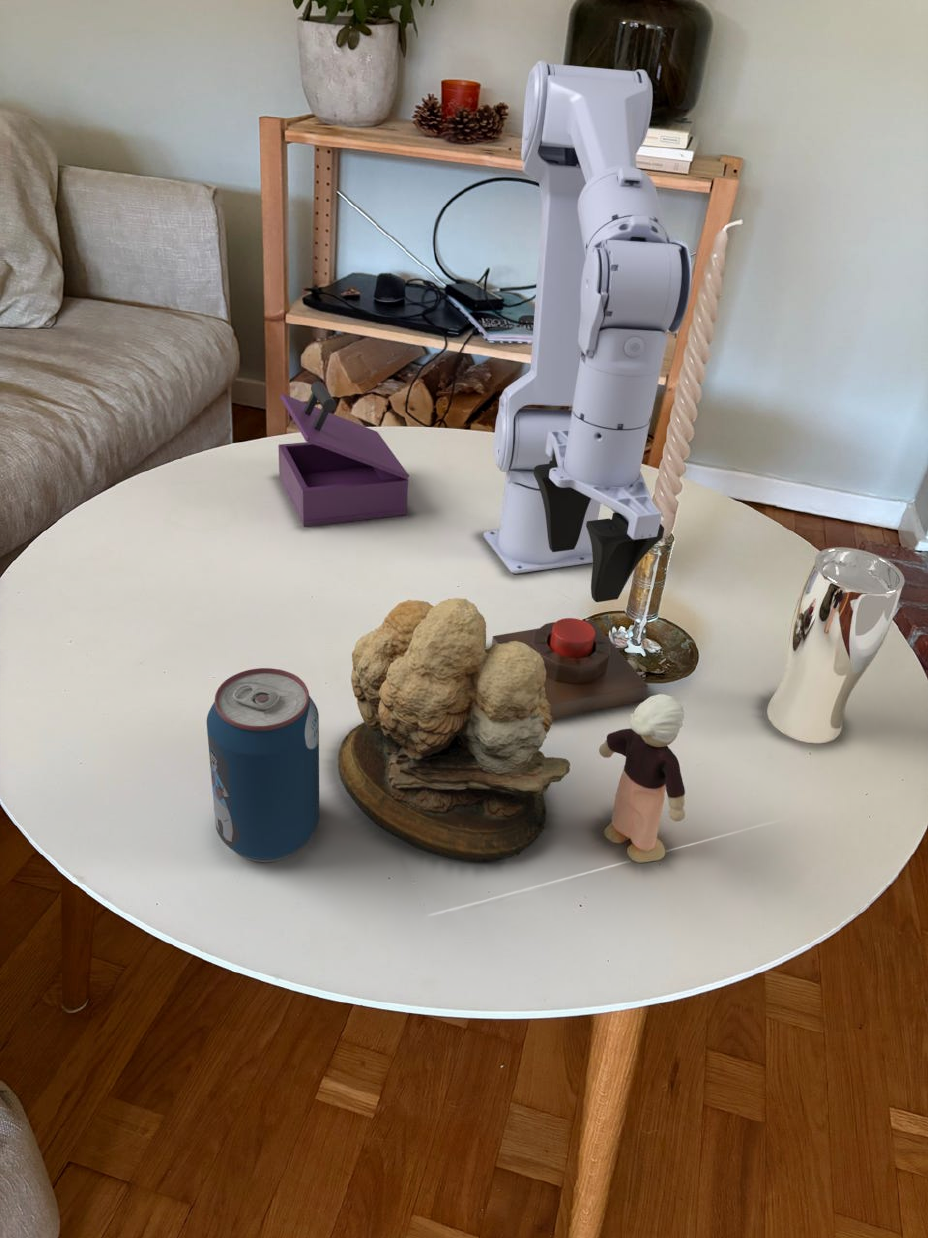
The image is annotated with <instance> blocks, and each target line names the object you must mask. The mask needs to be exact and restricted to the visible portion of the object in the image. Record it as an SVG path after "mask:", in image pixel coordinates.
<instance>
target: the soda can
mask: <svg viewBox="0 0 928 1238" xmlns="http://www.w3.org/2000/svg"><path fill="white" fill-rule="evenodd" d="M206 731H207V732H206V734H207V744H208V745H207V746H208V754H209V755H208V757H209V765H210V766H209V767H210V777H211V787H212V798H213V812H214V813H213V814H214V823H215V829H216V832H217V834H218V836H219V838H220V839H221V841H222V842H223V843H224V844H225V845H226V846H227V847H228V848H229V849H231V851H233V852H235V854H238V855H239V856H240V857H242V858H243V859H247V860H249V861H254V862H260V863H269V862H270V863H271V862H276V861H280V860H283V859H286V858H289V857H291V856H292V855H295V853H297V852H298V851H299V850H300V849H302V847H303V846H304V845H305V844H307V843H308V841H309V840H310V839H311V837H313V835H314V833H315V831H316V830H317V828H318V825H319V823H320V714H319V709H318V707H317V705H316V703H315V702H314V700H313V699H312V697H311V696H310V693H309V689H308V686H307V685H306V683H305V682H304V681H303V680H302V679H301V678H300V677H299V676H298V675H296V674H295V673H292V672H290V671H286V670H284V669H278V668H270V667H258V668H252V669H251V668H250V669H247V670H244V671H240V672H237V673H235V674H234V675H231V676H230V677H229V678H227V679H225V680H224V681H223V682H222V683H221V684H220V686H219V687H218V689H217V690H216V692H215V694H214V702H213V703H212V705H211V707H210V709H209V710H208V712H207V717H206Z"/></svg>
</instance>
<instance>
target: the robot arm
mask: <svg viewBox="0 0 928 1238" xmlns="http://www.w3.org/2000/svg"><path fill="white" fill-rule="evenodd" d="M653 94H654V93H653V84H652V81H651V78H650V77H649V75H648V73H647V71H646V70H645V69H636V70H623V69H612V68H603V67H589V66H579V65H578V66H577V65H568V64H567V65H566V64H557V63H556V64H555V63H547V61H546V60H538V61H537V62H536V64H534V66H533V67H532V68H531V69H530V71H529V73H528V78H527V83H526V87H525V95H524V105H523V106H524V107H523V119H522V120H523V123H522V135H521V151H520V152H521V153H520V157H521V158H520V159H521V160H522V172H523V173H524V174H525V175H527V176H528V177H530V178H531V179H533V180H535V181H536V182H537V183H538V184H539V185H538V186H539V193H540V194H539V195H540V203H541V221H540V231H539V232H540V233H539V248H538V258H537V259H538V260H537V272H536V273H537V275H536V287H535V302H534V303H535V304H534V315H533V329H532V342H531V354H530V355H531V356H530V369H529V371H528V372H527V373H525V374H524V375H522V376H521V377H520V378H517V380H515V381H513V382H512V383H510V384H509V385H508V386H507V387H505V388H504V390H503V391H502V393H501V395H500V396H499V399H498V400H499V402H498V412H497V415H496V419H495V425H494V426H495V427H494V436H493V437H494V439H493V450H494V451H493V452H494V453H493V454H494V456H493V457H494V462H495V465H496V467H497V469H499V471H500V472H503V473H505V480H504V491H503V498H502V506H501V514H500V523H499V529H498V530H497V529H495V530H487V531H485V532H483V538H484V539H485V540H486V542H487V544H488V545H489V546H490V547H491V549H492V550H493V551H494V552H495V554H496V555H497V556H498V558H499V559H500V560H501V561H502V563H503V564H504V566H505V567H506V568H507V569H508V570H509V572H510V573H512V574H516V575H517V574H524V573H530V572H537V571H543V570H551V569H558V568H566V567H570V566H571V567H572V566H573V567H574V566H579V565H586V564H592V569H591V579H590V594H591V595H590V596H591V599H592V600H593V601H594V603H602V602H609V601H615V600H618V599H619V597H621V594H622V592H623V590H624V588H625V586H626V584H627V583H628V581H629V579H630V577H631V575H632V574H633V572H634V571H635V568H636V567H638V564H639V563H640V562H641V560H642V559H643V558H644V557H645V556H646V554H647V553H648V552H649V551H650V550H651V549H652V548H653V547H654V546H656V544H657V543H659V542H660V541H661V540H662V539H663V538H664V532H665V526H663V525H662V524H661V522H662V521H661V520H662V516H663V513H662V512H661V511H660V510H659V509H658V507H657V506H656V504H655V503H654V501H653V499H652V497H651V493H650V492H649V489H648V486H647V484H646V481H645V479H644V476H643V473H642V472H641V469H642V463H643V458H644V455H645V450H646V444H647V438H648V433H649V430H650V425H651V419H652V414H653V410H654V405H655V400H656V396H657V390H658V386H659V381H660V376H661V371H662V367H663V361H664V358H665V352H666V347H667V344H668V343H667V342H668V338H669V337H668V335H667V333H666V332H667V331H668V332H670V333H676V332H677V331H678V330H679V329H680V328H681V326H682V324H683V322H684V320H685V317H686V315H687V312H688V307H689V303H690V300H691V299H690V298H691V295H692V293H691V292H692V284H693V264H692V263H693V262H692V257H691V251H690V250H691V249H690V247H689V245H688V243H687V242H685V241H684V240H683V241H682V240H678V236H675V235H674V236H673V235H669V234H668V233H667V230H666V225H665V221H664V217H663V212H662V207H661V204H660V201H659V196H658V192H657V188H656V186H655V183H654V180H652V178H651V177H650V176H649V174H647V173H646V172H645V171H643V170H641V169H640V168H638V166H637V153H638V152H639V150H640V148H641V147H642V146H643V144H644V143H645V141H646V137H647V134H648V131H649V127H650V122H651V117H652V109H653V99H654V97H653V96H654V95H653ZM531 405H535V406H555V407H556V406H557V407H572V408H571V409H557V408H556V409H555V408H534V407H525V406H531ZM601 504H602V505H603V506H605V507H606V508H608V509H610V510H611V511H612V516H611V518H601V519H599V515H600V511H601Z"/></svg>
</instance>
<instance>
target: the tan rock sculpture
mask: <svg viewBox="0 0 928 1238" xmlns="http://www.w3.org/2000/svg"><path fill="white" fill-rule="evenodd" d="M351 662H352V671H351V674H350V675H351V676H350V682H351V688H352V691H353V695H354V697H355V698H356V699H357V700H356V704H357V708H358V710H359V713H360V716H361V718H362V720H363V722H361V723H360V724H358V725H357V726H355V727H354V728H352V730H350V731H349V732H348V733H347V734H346V736H345V737H344V738H343V740H342V741H341V745H340V747H339V750H338V756H337V760H338V761H337V762H338V763H337V766H338V774H339V777H340V781H341V783H342V785H343V786H344V789H345V791H346V792H347V793H348V795H349V797H350V798H351V799H352V801H353V802H354V803H355V804H356V805H357V806H358V808H359V809H361V811H362V812H363V813H364V814H365V815H367V816H368V817H369V819H371V820H372V821H373V822H374V823H376V824H377V825H379V826H380V827H382V828H383V829H385V830H386V831H388V832H389V833H390V834H393V835H394V836H396V837H398V838H400V839H402V840H404V841H406V842H407V843H409V844H410V845H412V846H414V847H416V848H419V849H421V850H424V851H426V852H428V853H432V854H434V855H439V856H443V857H448V858H450V859H455V860H464V861H478V862H496V861H500V860H502V859H503V858H507V857H513V856H515V855H516V856H519V855H520V853H521V852H522V851H524V850H525V849H526V848H528V847H530V846H531V845H532V844H533V843H534V842H535V841H536V840H537V839H538V838H539V836H540V835H541V833H542V831H544V830H545V825H546V820H547V807H546V802H545V797H544V794H543V793H545V792H547V791H548V789H549V787H550V786H551V784H552V783H558V782H561V781H562V779H563V778H564V777H565V776H567V775H568V774H569V773H570V771H571V770H570V769H571V767H570V766H571V763H570V761H569V760H568V759H567V758H563V757H554V756H552V757H551V756H550V757H548V756H545V755H544V753H543V752H542V751H541V750H540V748H542V747H543V745H544V742H545V740H546V739H547V738H548V736H547V734H548V733H549V731H550V730H551V726H552V725H553V723H554V722H553V720H554V719H553V717H551V716H550V707H551V705H550V704H549V703H548V700H547V699H545V697H546V695H545V687H544V683H545V680H546V669H545V666H544V661H543V658H542V657H541V655H540V654H539V653H537V652H536V651H535V650H534V649H532V648H531V647H529V646H528V645H526V644H524V643H521V642H518V641H513V642H512V641H510V642H508V643H503V644H498V643H495V644H493V645H492V644H491V646H490V647H489V648H487V622H486V619H485V617H484V615H483V614H481V612H479V609H478V607H477V606H476V605H475V603H473V602H471V601H469V600H468V599H467V598H461V597H454V598H448V599H446V600H442V601H439V603H437V604H435V606H433V605H432V604H431V603H429V601H424V600H414V599H413V600H412V599H408V600H406V601H405V600H404V601H402V602H399V603H398V604H397V605H395V607H393V608H392V609H391V610H390V612H388V614H387V615H386V616H385V617H384V621H383V622H382V623H381V625H379V626H378V627H377V628H375V629H374V630H371V631H370V632H368V633H366V634H365V635H363V636H361V637H360V638H359V639H358V640H357V641H356V642H355V644H354V648H353V650H352V652H351ZM455 739H456V740H457V743H458V745H459V746H458V747H456V748H455V747H454V748H452V749H450V750H449V751H448V754H443V753H441V751H443V750H448V747H449V746H450V745H451V743H452V742H453V741H454V740H455ZM440 753H441V754H442V755H441V754H440ZM434 754H437V755H434ZM432 755H434V756H432Z"/></svg>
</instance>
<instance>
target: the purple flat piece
mask: <svg viewBox="0 0 928 1238" xmlns="http://www.w3.org/2000/svg"><path fill="white" fill-rule="evenodd" d="M310 391H311V394H310V396H309V398H308V400H307V402H305V401H303V400H299V399H297V398H294V397H292V396H289V395H288V394H284V393H281V395H280V397H279V398H280V399H281V402H282V403H283V405H284V407H285V408H286V410H287V412H288V413H289V415H290V417H291V419H292V420H293V422H294V423H295V426H296V427H297V428H298V431H299V433H300V434H301V435H302V437H303V439H304V442H309V443H312V444H314V445H317V446H320V447H322V448H325V449H327V450H330V451H333V452H335V453H338V454H341V455H343V456H346V457H349V458H351V459H354V460H357V461H359V462H362V463H365V464H367V465H370V466H373V467H375V468H378V469H381V470H383V471H386V472H389V473H391V474H394V475H397V476H399V477H402V478H405V479H408V480H409V477H410V474H409V473H408V472H407V471H406V469H405V468H404V466H403V465H402V463H401V462H400V461H399V459H398V458H397V457H396V455H395V454H394V452H393V451H392V450H391V449H390V447H389V446H388V444H387V443H386V442H385V440H384V439H383V437H382V436H381V434H380V433H379V432H378V431H376V430H374V429H372V428H369V427H366V426H364V425H361V424H359V423H357V422H354V421H351V420H349V419H346V418H344V417H342V416H339V415H336V414H335V413H331V412H334V411H335V410H336V408H337V403H336V401H335V399H334V398H333V396H332V395H331V393H330V392H329V390H328V389H327V388H326V386H325V385H324V383H323V382H321V381H319V380H318V381H314V382H313V383H312V384H311V386H310ZM317 402H318V403H319V405H320V406H321V408H319V407H316V405H317Z"/></svg>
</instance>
